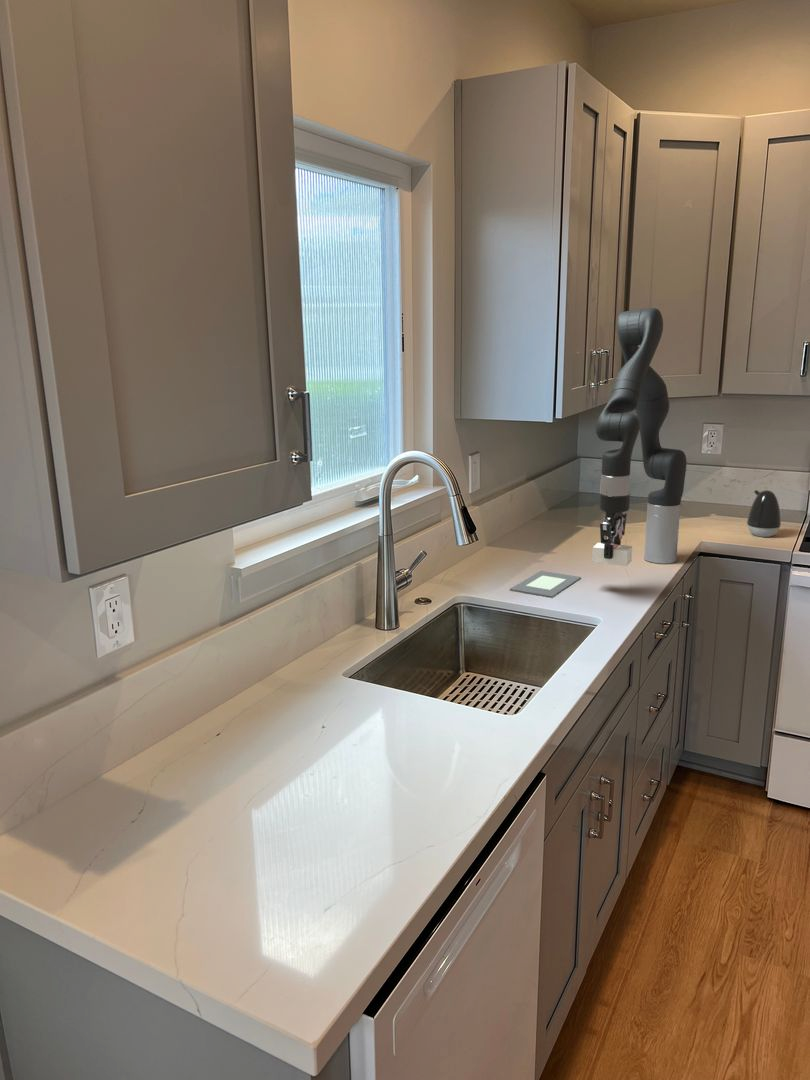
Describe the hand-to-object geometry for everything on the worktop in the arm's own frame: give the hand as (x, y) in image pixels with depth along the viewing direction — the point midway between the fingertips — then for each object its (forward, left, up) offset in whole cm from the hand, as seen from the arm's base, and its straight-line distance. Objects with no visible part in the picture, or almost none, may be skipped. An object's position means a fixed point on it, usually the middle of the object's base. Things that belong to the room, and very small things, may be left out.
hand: (612, 555), depth 207 cm
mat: (+4, -16, -9) cm, 19 cm away
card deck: (0, 0, -2) cm, 2 cm away
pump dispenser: (-84, +23, -10) cm, 87 cm away
